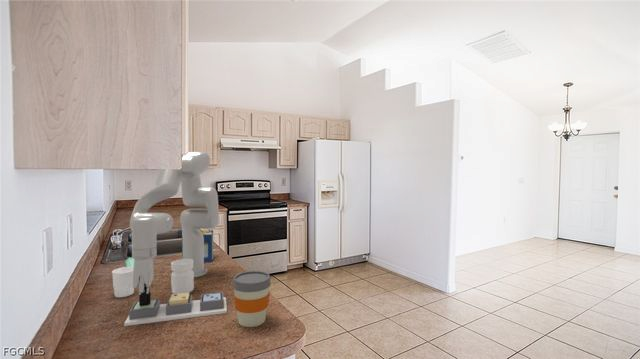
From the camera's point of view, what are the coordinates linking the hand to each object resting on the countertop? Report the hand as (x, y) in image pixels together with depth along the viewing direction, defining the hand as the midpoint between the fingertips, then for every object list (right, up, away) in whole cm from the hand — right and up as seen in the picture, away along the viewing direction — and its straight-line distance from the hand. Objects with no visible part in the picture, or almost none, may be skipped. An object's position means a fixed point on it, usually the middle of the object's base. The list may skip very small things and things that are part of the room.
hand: (145, 304), depth 110 cm
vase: (+3, -3, +23) cm, 24 cm away
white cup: (-19, -3, +18) cm, 26 cm away
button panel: (+10, -4, +4) cm, 12 cm away
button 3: (+21, -3, +7) cm, 22 cm away
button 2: (+10, -1, +4) cm, 11 cm away
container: (-29, -3, +41) cm, 50 cm away
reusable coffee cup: (+38, -5, -2) cm, 38 cm away
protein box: (-7, -2, +65) cm, 66 cm away
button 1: (0, -3, 0) cm, 3 cm away
